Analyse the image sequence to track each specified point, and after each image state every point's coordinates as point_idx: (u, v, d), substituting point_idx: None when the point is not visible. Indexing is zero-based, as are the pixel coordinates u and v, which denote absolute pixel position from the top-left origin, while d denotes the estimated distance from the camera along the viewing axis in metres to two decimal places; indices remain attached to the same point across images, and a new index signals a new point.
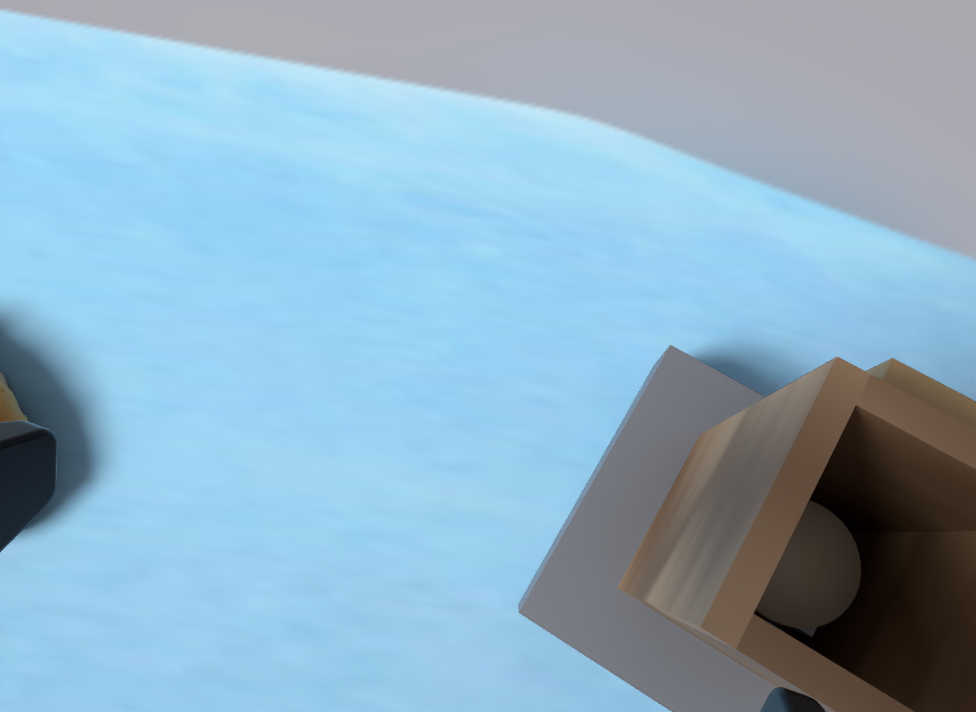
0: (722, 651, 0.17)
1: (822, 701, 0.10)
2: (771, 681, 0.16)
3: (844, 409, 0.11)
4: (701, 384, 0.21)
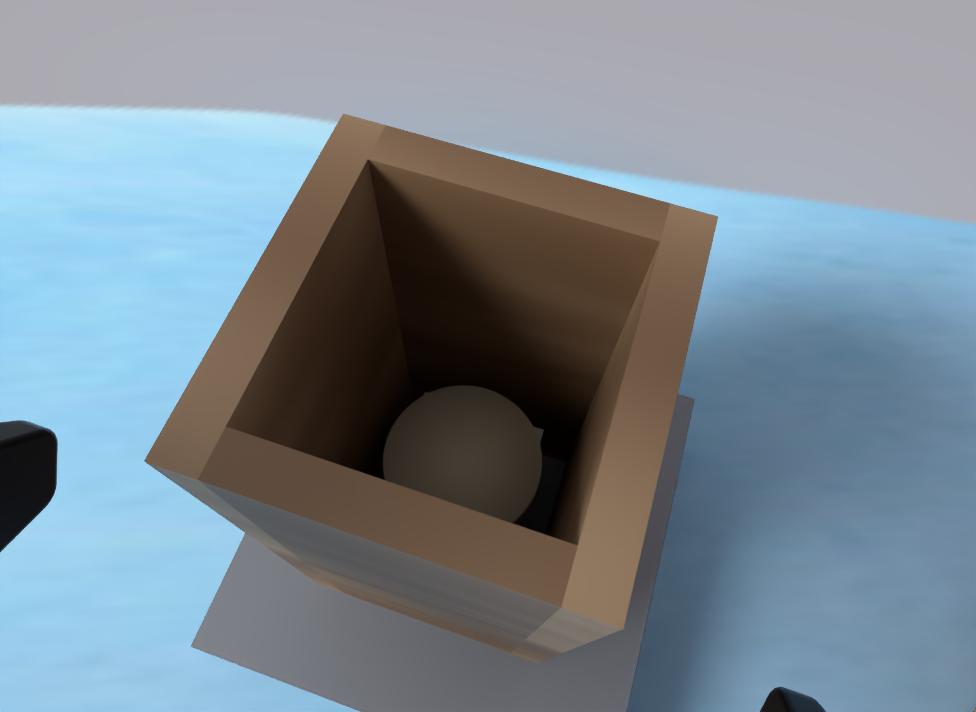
0: (421, 613, 0.13)
1: (328, 523, 0.07)
2: (477, 631, 0.12)
3: (352, 165, 0.09)
4: None
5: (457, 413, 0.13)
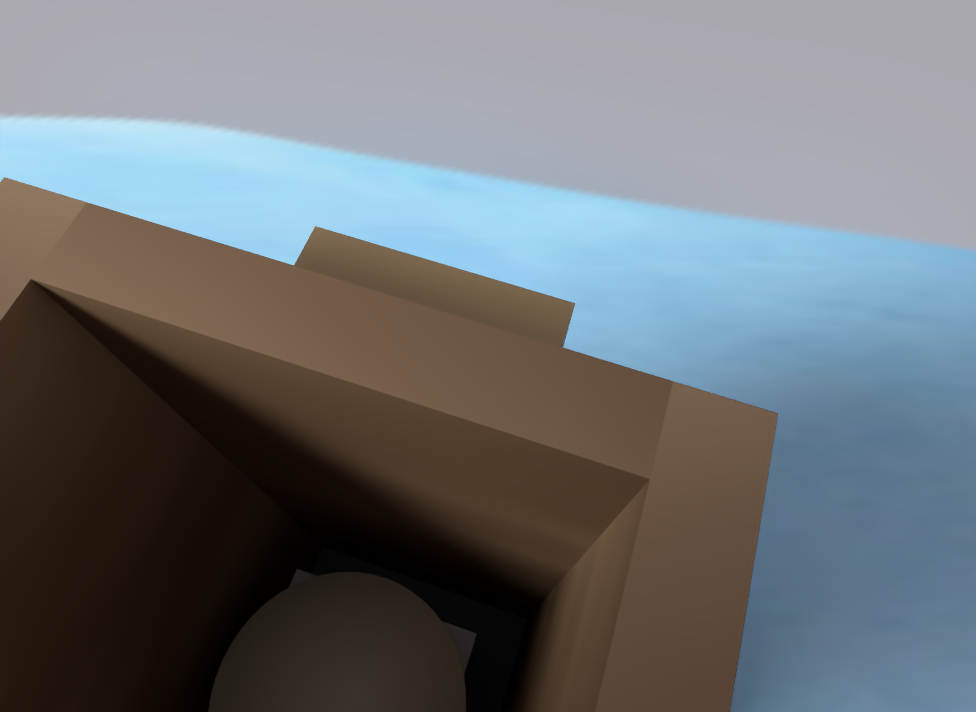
0: None
1: None
2: None
3: None
4: None
5: (334, 622, 0.08)
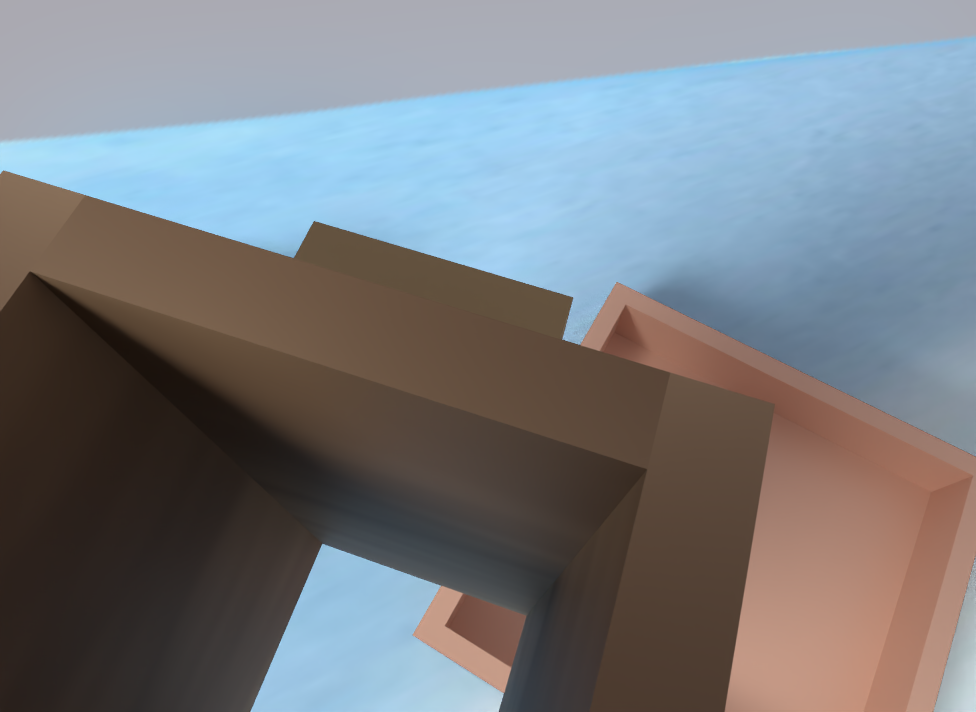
0: None
1: None
2: None
3: None
4: None
5: None
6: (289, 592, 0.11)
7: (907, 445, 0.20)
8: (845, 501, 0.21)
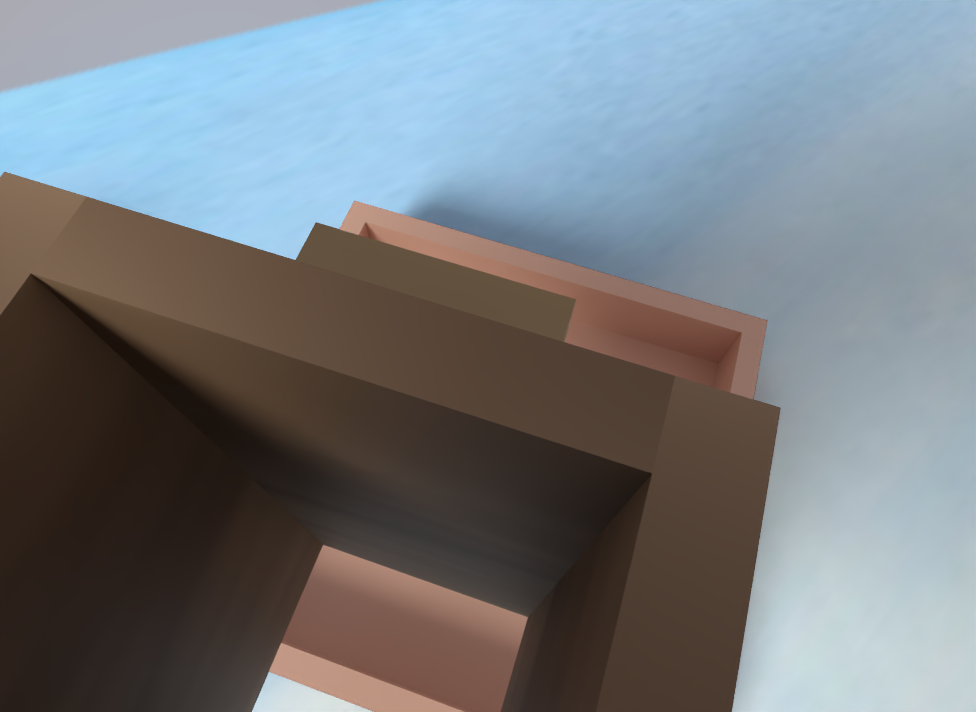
0: None
1: None
2: None
3: None
4: None
5: None
6: (290, 593, 0.11)
7: (674, 315, 0.19)
8: None
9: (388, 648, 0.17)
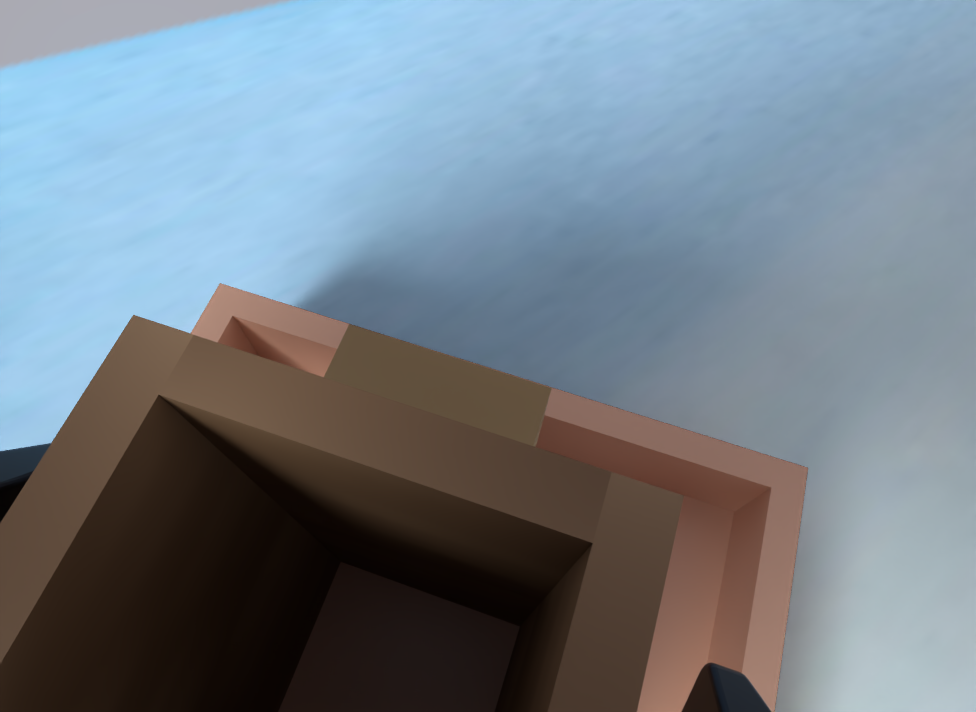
0: None
1: None
2: None
3: (134, 407, 0.06)
4: None
5: None
6: (313, 605, 0.13)
7: (671, 458, 0.13)
8: None
9: None
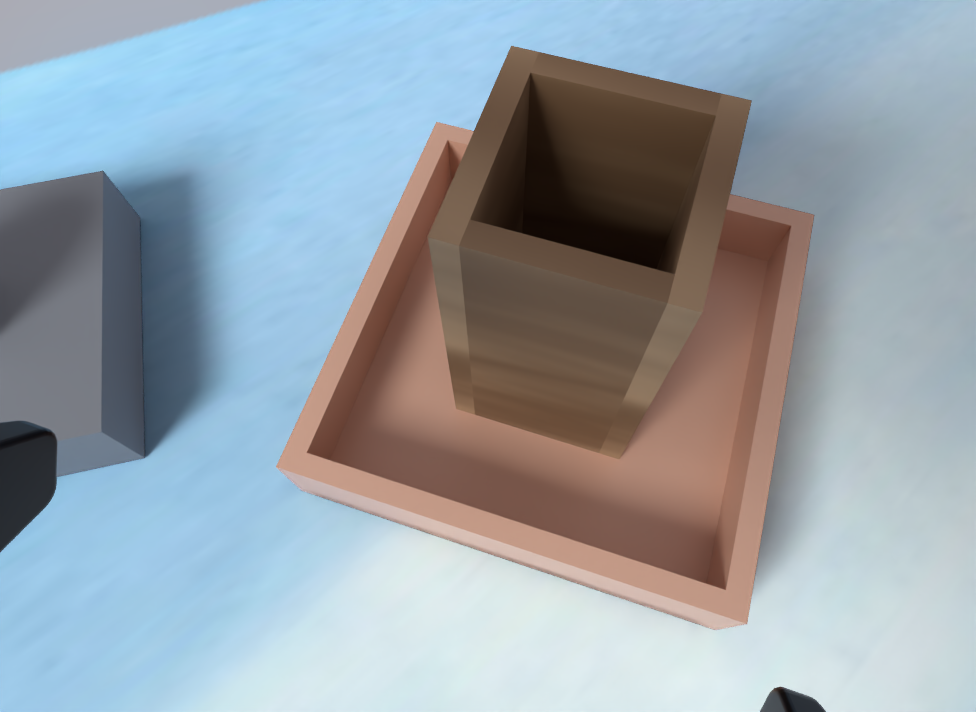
0: (541, 408, 0.18)
1: (534, 266, 0.12)
2: (583, 414, 0.18)
3: (521, 76, 0.14)
4: None
5: None
6: None
7: (728, 212, 0.21)
8: None
9: (484, 500, 0.20)
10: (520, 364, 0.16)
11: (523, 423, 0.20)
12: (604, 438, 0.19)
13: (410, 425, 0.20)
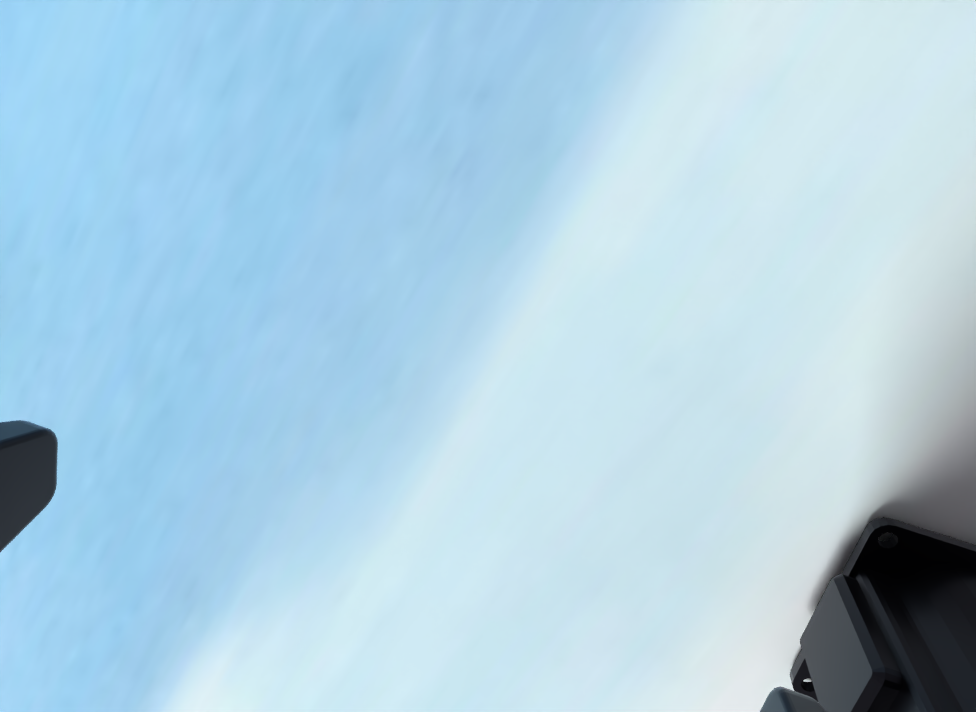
0: None
1: None
2: None
3: None
4: None
5: None
6: None
7: None
8: None
9: None
10: None
11: None
12: None
13: None
